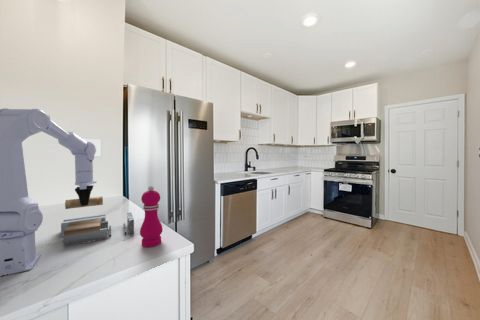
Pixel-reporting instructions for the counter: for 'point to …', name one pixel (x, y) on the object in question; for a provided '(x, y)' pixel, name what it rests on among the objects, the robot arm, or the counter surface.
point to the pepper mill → (151, 219)
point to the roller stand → (66, 222)
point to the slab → (82, 226)
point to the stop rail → (130, 223)
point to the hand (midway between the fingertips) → (85, 204)
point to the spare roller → (92, 202)
